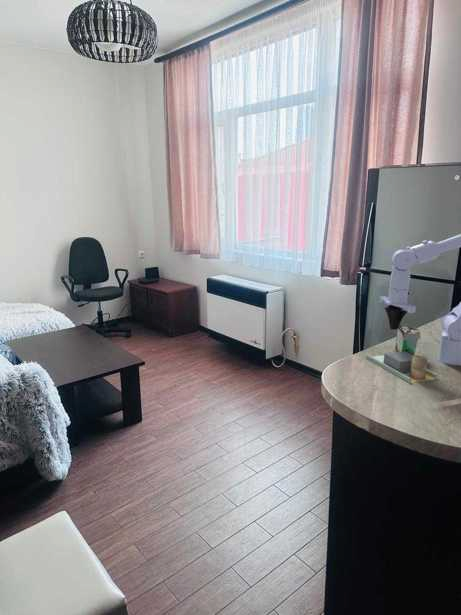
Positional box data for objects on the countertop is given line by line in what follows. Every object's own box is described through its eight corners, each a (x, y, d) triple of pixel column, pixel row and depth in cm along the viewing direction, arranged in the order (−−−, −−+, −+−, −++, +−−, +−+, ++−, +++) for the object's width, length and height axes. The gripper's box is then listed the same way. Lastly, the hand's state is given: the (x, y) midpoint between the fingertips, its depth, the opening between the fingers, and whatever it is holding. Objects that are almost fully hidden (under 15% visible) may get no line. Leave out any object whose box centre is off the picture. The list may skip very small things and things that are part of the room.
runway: (390, 357, 141) (391, 351, 141) (436, 381, 123) (437, 374, 122) (364, 360, 138) (365, 354, 137) (408, 386, 120) (409, 378, 119)
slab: (402, 363, 134) (404, 351, 133) (418, 371, 127) (420, 359, 126) (382, 365, 131) (384, 353, 130) (398, 374, 125) (400, 361, 124)
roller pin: (417, 373, 126) (420, 354, 124) (428, 379, 122) (430, 359, 121) (406, 375, 124) (409, 356, 123) (417, 380, 121) (420, 361, 119)
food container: (421, 365, 135) (425, 335, 132) (400, 364, 136) (404, 334, 133) (412, 352, 146) (416, 324, 144) (394, 350, 147) (397, 323, 145)
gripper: (374, 284, 141) (369, 323, 144) (404, 293, 127) (399, 336, 131) (391, 283, 143) (386, 321, 146) (423, 292, 130) (417, 334, 133)
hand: (393, 328), depth 139 cm, fingers closed
